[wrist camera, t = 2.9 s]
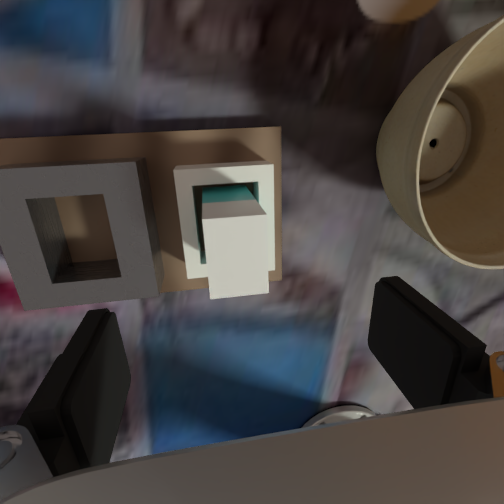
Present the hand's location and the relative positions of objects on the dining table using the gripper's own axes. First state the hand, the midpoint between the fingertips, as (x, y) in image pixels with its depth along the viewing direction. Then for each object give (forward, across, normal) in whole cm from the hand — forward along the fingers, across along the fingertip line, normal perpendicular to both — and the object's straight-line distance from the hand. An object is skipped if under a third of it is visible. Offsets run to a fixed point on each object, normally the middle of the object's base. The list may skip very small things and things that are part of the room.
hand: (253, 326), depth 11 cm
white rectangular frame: (+17, 0, +1) cm, 17 cm away
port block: (+17, +11, +1) cm, 20 cm away
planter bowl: (+19, -19, -4) cm, 27 cm away
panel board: (+19, +6, +1) cm, 20 cm away
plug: (+17, 0, +1) cm, 17 cm away
